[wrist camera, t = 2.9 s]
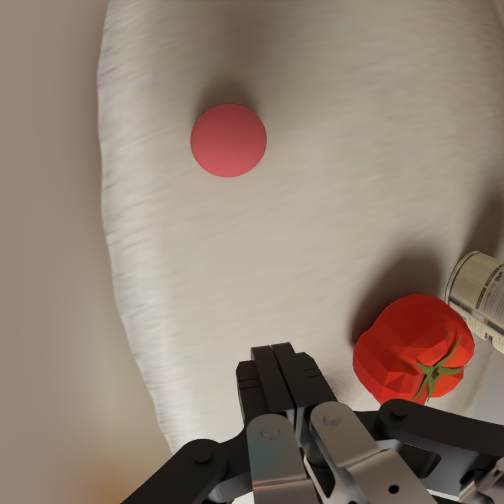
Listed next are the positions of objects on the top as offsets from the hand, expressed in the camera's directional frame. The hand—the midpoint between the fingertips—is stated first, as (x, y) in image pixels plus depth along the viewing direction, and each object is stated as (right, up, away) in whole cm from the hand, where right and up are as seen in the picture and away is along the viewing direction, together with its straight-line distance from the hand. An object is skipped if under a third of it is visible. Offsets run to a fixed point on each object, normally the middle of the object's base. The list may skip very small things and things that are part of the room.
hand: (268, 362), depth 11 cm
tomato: (+16, -5, +20) cm, 26 cm away
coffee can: (+29, 0, +21) cm, 36 cm away
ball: (-2, +12, +9) cm, 15 cm away
